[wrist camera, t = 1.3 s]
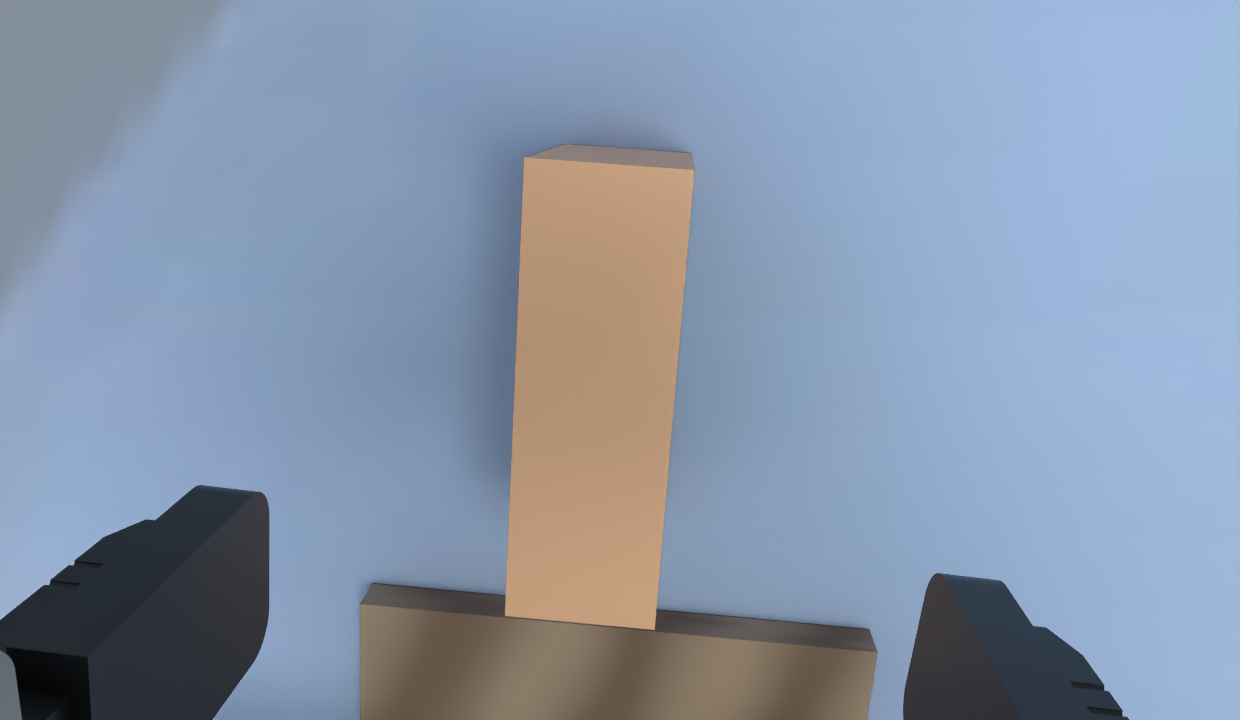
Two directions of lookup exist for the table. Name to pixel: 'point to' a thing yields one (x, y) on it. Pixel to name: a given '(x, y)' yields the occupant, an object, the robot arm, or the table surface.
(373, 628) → the hook stand
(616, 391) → the wooden staple shape
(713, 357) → the table surface
